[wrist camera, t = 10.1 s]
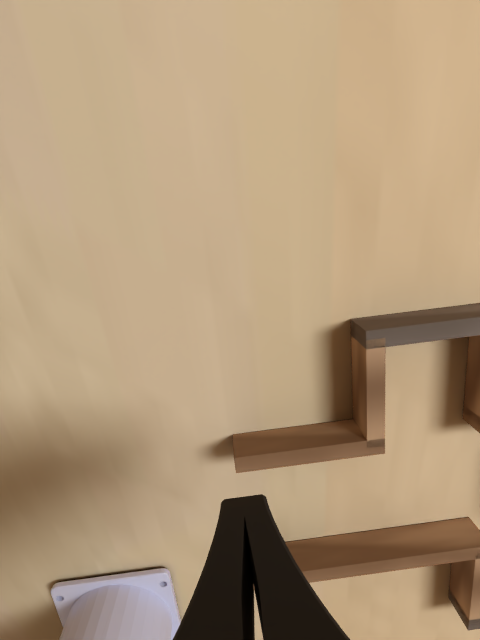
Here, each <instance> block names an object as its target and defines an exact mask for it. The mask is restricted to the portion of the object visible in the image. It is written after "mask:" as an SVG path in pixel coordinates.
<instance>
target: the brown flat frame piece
mask: <svg viewBox="0 0 480 640" xmlns="http://www.w3.org/2000/svg"><path fill="white" fill-rule="evenodd" d="M461 337H469V344H468V357H467V370H466V382H465V395H464V408H463V419H464V420H465V421H466V422H467V423H468V424H470V425H471V426H472V427H473V428H474V429H476V430H477V431H478V432H479V433H480V303H476V304H468V305H460V306H452V307H444V308H436V309H428V310H420V311H412V312H403V313H395V314H387V315H379V316H371V317H363V318H355V319H351V351H352V396H353V419H350V420H342V421H335V422H327V423H319V424H311V425H304V426H296V427H288V428H281V429H273V430H265V431H257V432H250V433H242V434H234V435H233V448H234V461H235V468H236V473H241V472H248V471H256V470H263V469H271V468H278V467H286V466H294V465H301V464H309V463H316V462H324V461H331V460H339V459H347V458H354V457H362V456H369V455H377V454H384V453H385V347H389V346H397V345H405V344H413V343H421V342H429V341H437V340H445V339H453V338H461ZM285 543H286V545H287V547H288V549H289V551H290V553H291V554H292V556H293V558H294V560H295V561H296V563H297V565H298V566H299V568H300V570H301V571H302V573H303V574H304V576H305V578H306V579H307V581H308V582H309V583H310V582H317V581H324V580H331V579H339V578H346V577H353V576H360V575H367V574H374V573H382V572H389V571H396V570H403V569H410V568H417V567H425V566H432V565H439V564H446V563H451V574H450V586H449V599H450V601H451V603H452V604H453V606H454V608H455V609H456V611H457V613H458V614H459V616H460V618H461V619H462V621H463V623H464V624H465V626H466V628H467V629H468V630H474V629H480V530H479V529H478V528H477V526H476V525H475V524H474V523H473V522H472V520H471V519H470V518H469V517H467V518H459V519H452V520H445V521H437V522H430V523H423V524H416V525H408V526H401V527H394V528H386V529H379V530H372V531H364V532H357V533H350V534H342V535H335V536H328V537H320V538H313V539H306V540H299V541H291V542H285ZM254 590H255V589H254Z"/></svg>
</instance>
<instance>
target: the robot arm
mask: <svg viewBox="0 0 480 640" xmlns="http://www.w3.org/2000/svg"><path fill="white" fill-rule="evenodd" d="M254 589H255V594H256V600H257V605H258V611H259V617H260V622H261V628H262V633H263V639H264V640H350V639H349V638H348V636H347V635H346V634H345V633H344V631H343V630H342V629H341V628H340V626H339V625H338V624H337V622H336V621H335V620H334V618H333V617H332V616H331V614H330V613H329V612H328V610H327V609H326V607H325V606H324V605H323V603H322V602H321V600H320V599H319V597H318V596H317V595H316V593H315V592H314V590H313V589H312V587H311V586H310V584H309V582H308V581H307V579H306V578H305V576H304V574H303V573H302V571H301V570H300V568H299V566H298V565H297V563H296V561H295V560H294V558H293V556H292V554H291V553H290V551H289V549H288V547H287V545H286V543H285V541H284V540H283V538H282V536H281V534H280V532H279V530H278V528H277V525H276V523H275V521H274V519H273V516H272V514H271V511H270V509H269V506H268V503H267V499H266V497H265V496H264V495H262V494H261V495H254V496H246V497H239V498H231V499H224V500H223V502H222V503H221V509H220V514H219V519H218V523H217V527H216V531H215V534H214V538H213V541H212V544H211V547H210V551H209V554H208V557H207V560H206V563H205V566H204V568H203V571H202V573H201V576H200V579H199V581H198V584H197V586H196V589H195V591H194V594H193V596H192V599H191V601H190V603H189V606H188V608H187V610H186V612H185V615H184V617H183V619H182V621H181V620H180V615H179V611H178V606H177V602H176V597H175V593H174V588H173V584H172V579H171V575H170V572H169V570H167V569H165V568H159V569H152V570H145V571H138V572H130V573H123V574H116V575H108V576H101V577H94V578H87V579H79V580H72V581H65V582H58V583H55V584H54V585H53V587H52V589H51V595H52V598H53V601H54V604H55V607H56V609H57V612H58V615H59V618H60V621H61V623H62V626H63V631H62V633H61V636H60V639H59V640H255V637H254Z"/></svg>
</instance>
